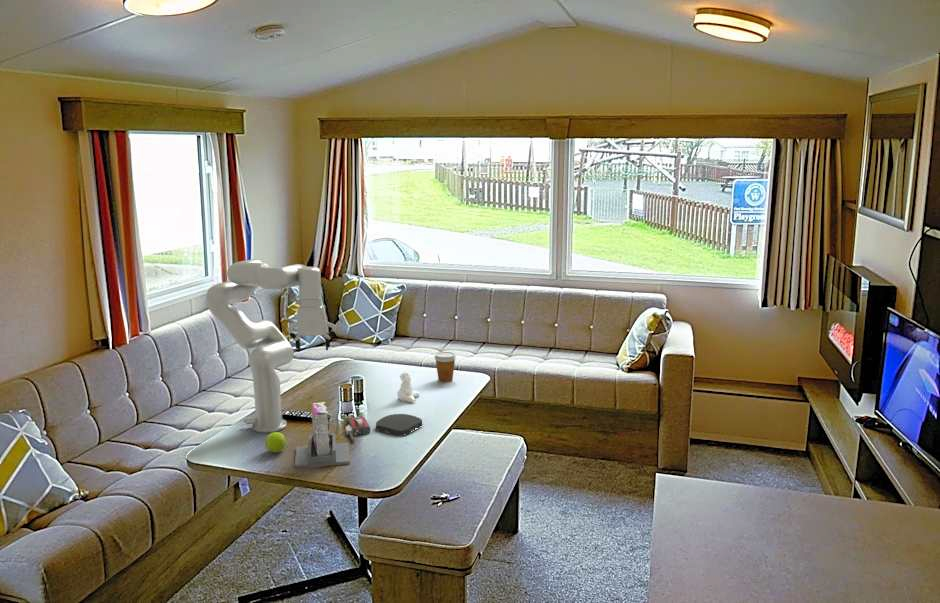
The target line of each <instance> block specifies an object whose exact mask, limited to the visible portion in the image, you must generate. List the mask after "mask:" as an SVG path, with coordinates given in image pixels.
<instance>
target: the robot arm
mask: <svg viewBox="0 0 940 603" xmlns="http://www.w3.org/2000/svg"><path fill="white" fill-rule="evenodd" d="M226 277H227V279H228V280H227V281H222V282H219V283H218V282H217V283H216V284H214V285H212V286H210V287H209V288H208V289H207V291H206V295H205V302H206V305H207V308H208V310H209V311H210V313H211V314H212V316H214V318H216V319H217V321H219V322H220V323H221V324H222V325H223V326H224V328H225V329H226V330H227V332H228V333H229V334H230V335H231V336H232V338H233V340H235V342H236V343H237V344H238V345H239V346H240V347H241V348H242V349H244V350H251V352H250V353H249V356H248V364H249V367H250V371H251V376H252V382H253V385H252V386H253V394H254V395H253V396H254V408H255V409H254V410H255V415H252V417H248V416H247V417H243V423H246V425H251V428H252V430H253V431H254V432H257V433H260V434H261V433H262V434H265V433H266V434H267V433H269V434H270V433H273V432H279V431H282V430H284V429H285V428H286V427H288V426H287V425H288V424H287V420H286V419H284V418H283V412H282V411H283V410H282V394H281V392H282V391H281V381H280V377H279V376H278V374H277V373H276V370H275V369H277V368H280V367H283V366H286V365H288V364H289V363H291V362H292V360H293V358H294V354H295V353H294V352H295V351H294V349H293V347H292V345H291V343H290V341H288V339H287V338H286V337H285V336H284V335H283V333H282V332H281V331H280V330H279V328H278V327H277V326H276V325H275V324H274V323H273V322H272V321H270V320H268V319H260V320H259V319H258V320H255V321H252V320H250V319H249V317H248V316H247V315H246V314H245V313H244V312H243V311H242V310H241V309H239V308H238V307H235V306H233V305H232V304H235V303H239V302H243V301H247V300H248V299H250V298H251V297H252V296H253V294H254V292H256V290H257V289H258V287H260V288H262V289H264V290H276V291H279V290H286V289H290V288H294V287H298V293H299V294H298V296H299V298H298V299H295V300H294V301H295V304H297V305H299V306H297V310H296V322H295V323H293V324H291V325H289V326H288V327H286V331H287V333H288V334H289V336H290V337H291V338H292V339H293V340H294V341H295V350H297V352H298V353H301V337H308V336H309V337H313V336H324V337H325V350H326V351H329V348H331V342H330V341H331V338H332V337H333V336H334V335H335V333H336V330H337V329H338V325H336V324H334V323H332V322H329V321H328V320H327V314H326V309H325V305H323V301H322V300H323V299H322V281H321V280H322V279H321V278H322V276H321V270H320V268H319V267H316V266H307V265H305V264H301V263H295V264H290V265H286V266H281V267H275V268H274V267H272V268H271V266H270V265H269V264H268V263H266V262H262V261H261V260H259V259H256V258H253V259H247V260H241V261H237V262H234V263H232V264H231V265H229V266H228V269H227V271H226ZM328 328H331V330H330V331H329V332H328ZM294 329H296V332H297V333H296V334H295V333H294V331H293V330H294ZM252 349H253V350H252Z"/></svg>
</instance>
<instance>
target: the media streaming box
mask: <svg viewBox="0 0 940 603" xmlns="http://www.w3.org/2000/svg"><path fill="white" fill-rule="evenodd" d="M375 422H376V423H375V430H377V431H378V430H379V431H378V432H382V433H385V434H389V433H390V435H393V434H394V436H398V435H402V436H405V435H404V434H407V435H409V434H411V433H410V432H411V431H413V430H415V428H419V427H420V426H423V420H422V418H420V417H417V416H415V415H412V414H407V413H396V414H395V413H394V414H389V415H386V416H384V417H382V418H380V419H378V420H377V421H375ZM419 429H420V428H419ZM415 431H416V430H415ZM413 432H414V431H413ZM408 433H409V434H408ZM395 434H396V435H395Z"/></svg>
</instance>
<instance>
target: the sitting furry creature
mask: <svg viewBox="0 0 940 603" xmlns="http://www.w3.org/2000/svg"><path fill="white" fill-rule="evenodd" d="M399 377H400V380H401V381H402V382H401V384H400V387H399V389H398V391H397V395H396V396H397V397H398V399H399V400H400V401H403V402H405V401H407V402H406V403H410V402H411V403H410V404H415V403H416V401H417V399H416V398H420V392H419V391H417V390H413V388H412V384H411V381H412V379H411V375H410V374H409V371H403V372H402V373H400V375H399ZM414 397H415V398H414ZM414 402H415V403H414Z"/></svg>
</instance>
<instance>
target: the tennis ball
mask: <svg viewBox="0 0 940 603" xmlns="http://www.w3.org/2000/svg"><path fill="white" fill-rule="evenodd" d="M286 443H287V440H286V437H285V436H284V434H283V433H281V432H279V431H276V432H270V433H269V434H268V435H267V436H266V437H265V440H264V445H265V448H266V449H267V451H268V452H271V453H280V452H282V450H284V449H285V447H286V445H287V444H286Z"/></svg>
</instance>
